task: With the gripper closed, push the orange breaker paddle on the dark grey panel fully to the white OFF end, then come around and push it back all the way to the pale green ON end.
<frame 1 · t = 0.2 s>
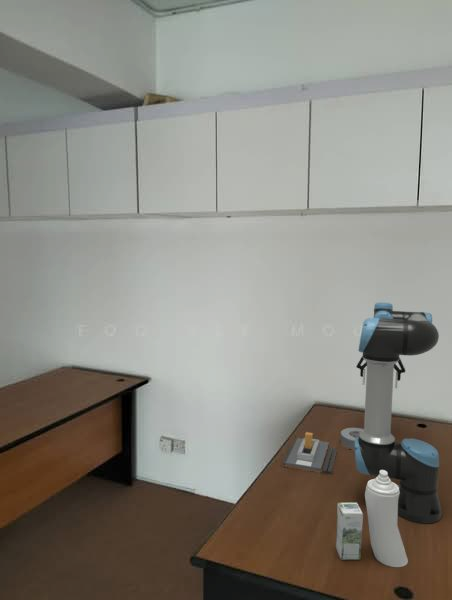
hand: (379, 385, 203), 28 cm above the table, fingers open, 13 cm apart
breaker panel: (308, 456, 195), on the table
spray can: (384, 556, 132), on the table
breaker toggle: (308, 442, 194), point 6 cm above the table, slide at 5.0 cm
syrup box: (347, 554, 133), on the table
tape roll: (357, 445, 208), on the table
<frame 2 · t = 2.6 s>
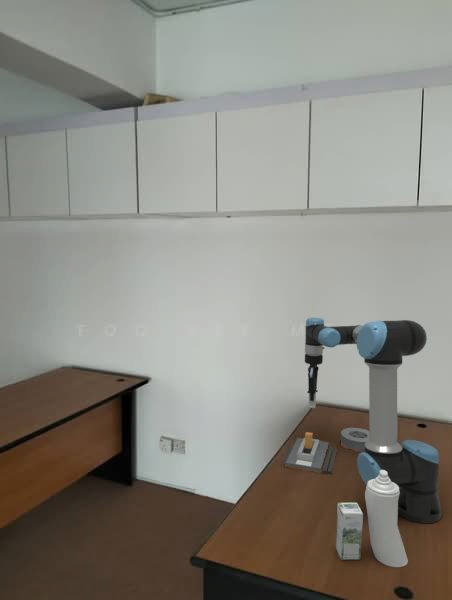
hand: (312, 407, 200), 19 cm above the table, fingers closed
nothing on the table moved.
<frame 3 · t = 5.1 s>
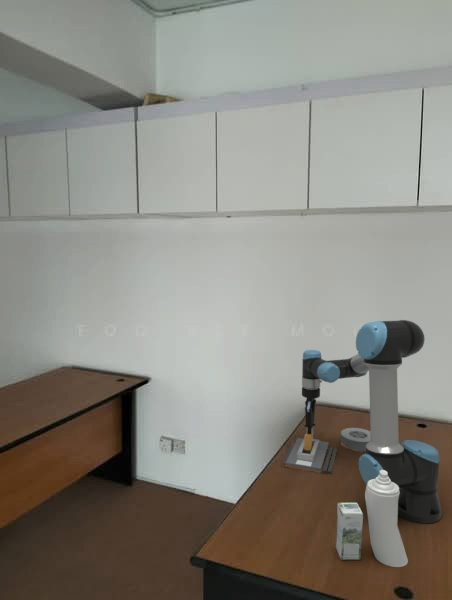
hand: (309, 441, 196), 6 cm above the table, fingers closed
breaker toggle: (308, 444, 193), point 6 cm above the table, slide at 3.3 cm, touching gripper
everything else where it was.
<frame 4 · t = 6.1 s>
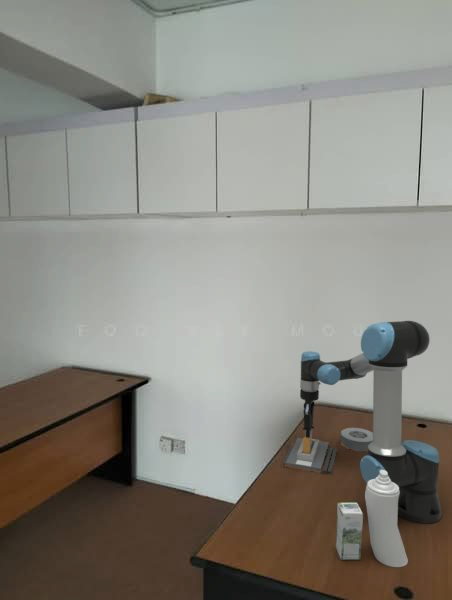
hand: (308, 443, 192), 6 cm above the table, fingers closed
breaker toggle: (306, 447, 190), point 6 cm above the table, slide at -0.1 cm, touching gripper
everything else where it was.
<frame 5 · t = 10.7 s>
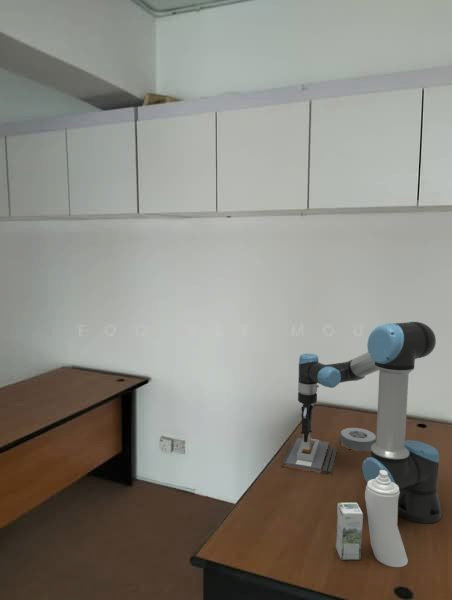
hand: (305, 448, 188), 6 cm above the table, fingers closed
breaker toggle: (307, 446, 191), point 6 cm above the table, slide at 1.3 cm, touching gripper
everything else where it was.
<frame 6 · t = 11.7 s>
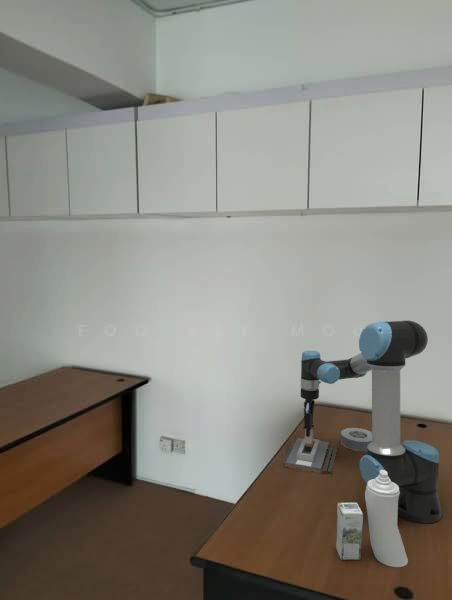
hand: (308, 442, 193), 7 cm above the table, fingers closed
breaker toggle: (309, 440, 196), point 6 cm above the table, slide at 7.1 cm, touching gripper
everything else where it was.
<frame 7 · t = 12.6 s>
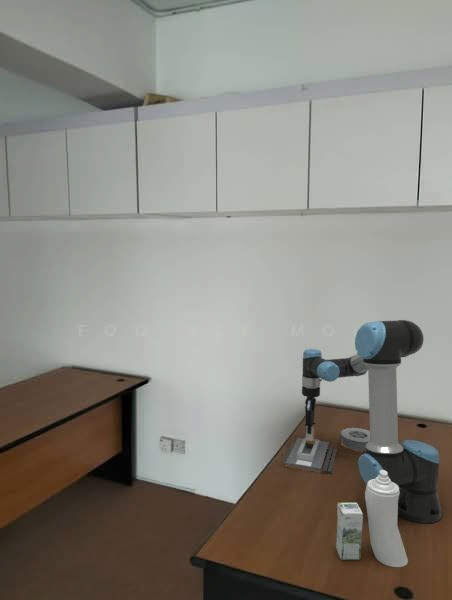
hand: (309, 439, 196), 6 cm above the table, fingers closed
breaker toggle: (310, 438, 199), point 6 cm above the table, slide at 10.1 cm, touching gripper
everything else where it was.
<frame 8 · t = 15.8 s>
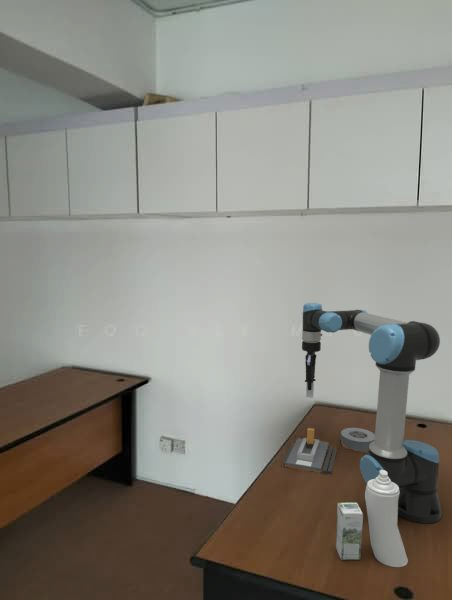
hand: (309, 396, 191), 26 cm above the table, fingers closed
breaker toggle: (310, 438, 199), point 6 cm above the table, slide at 10.0 cm
everything else where it was.
at the end: breaker toggle slide at 10.0 cm; breaker toggle touching nothing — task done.
